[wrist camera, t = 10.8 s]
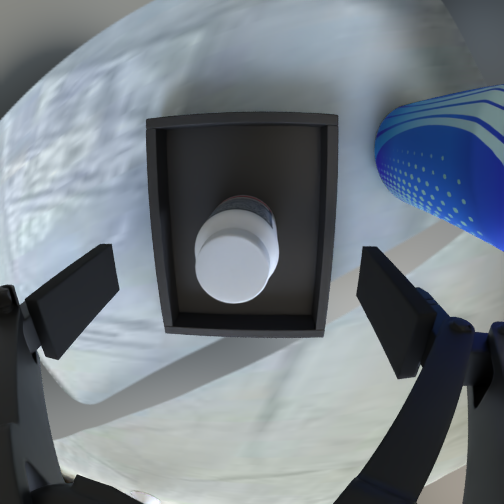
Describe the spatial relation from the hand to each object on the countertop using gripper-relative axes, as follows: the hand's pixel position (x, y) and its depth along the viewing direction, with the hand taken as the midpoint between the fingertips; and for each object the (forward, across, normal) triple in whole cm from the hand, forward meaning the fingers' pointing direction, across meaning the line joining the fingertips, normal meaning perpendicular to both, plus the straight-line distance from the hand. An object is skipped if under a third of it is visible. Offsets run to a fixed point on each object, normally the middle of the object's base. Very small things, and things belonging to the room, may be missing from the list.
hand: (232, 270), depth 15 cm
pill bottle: (+10, 0, 0) cm, 10 cm away
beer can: (+10, +14, +6) cm, 19 cm away
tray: (+10, 0, 0) cm, 10 cm away
